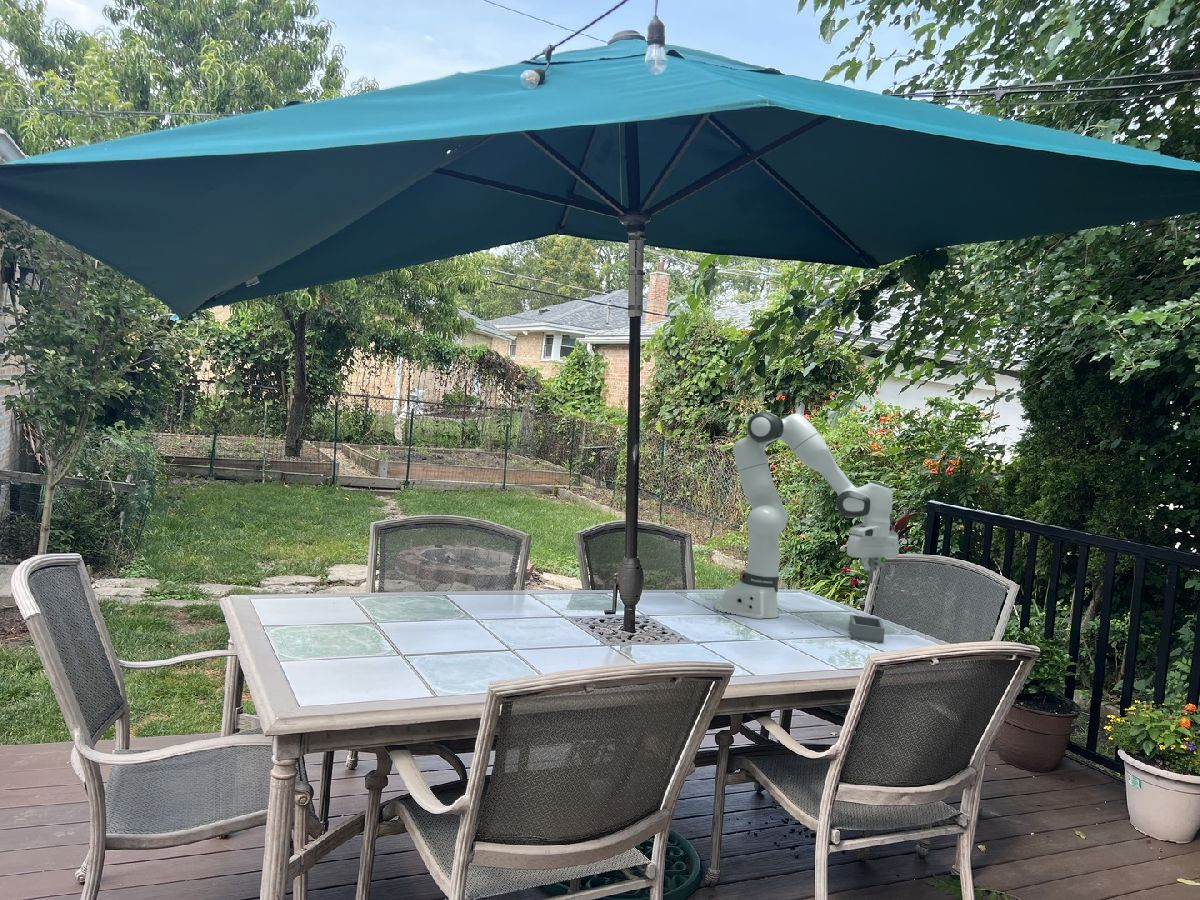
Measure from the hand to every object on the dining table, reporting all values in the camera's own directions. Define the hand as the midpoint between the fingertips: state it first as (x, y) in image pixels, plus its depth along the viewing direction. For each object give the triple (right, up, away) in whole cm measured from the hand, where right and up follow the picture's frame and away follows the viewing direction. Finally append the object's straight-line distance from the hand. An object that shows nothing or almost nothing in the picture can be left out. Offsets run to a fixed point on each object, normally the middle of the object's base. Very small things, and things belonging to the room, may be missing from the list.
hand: (871, 570), depth 288 cm
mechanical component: (0, -5, 0) cm, 4 cm away
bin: (-4, -21, -6) cm, 22 cm away
